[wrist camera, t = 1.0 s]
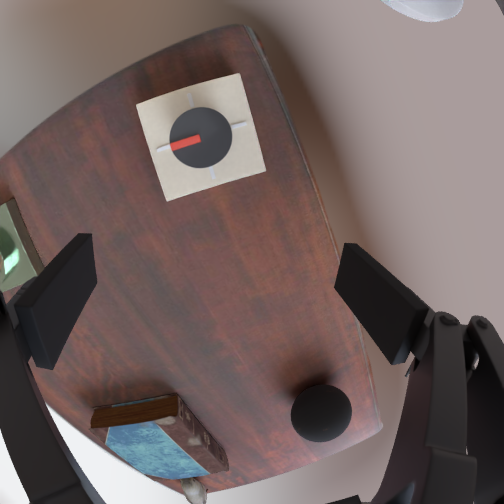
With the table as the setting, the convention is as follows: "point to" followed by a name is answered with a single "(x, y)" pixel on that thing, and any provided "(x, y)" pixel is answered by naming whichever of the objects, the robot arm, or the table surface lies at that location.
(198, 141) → the knob
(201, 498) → the decorative bird
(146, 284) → the table surface
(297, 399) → the speaker
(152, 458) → the book
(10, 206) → the button box
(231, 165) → the knob panel
